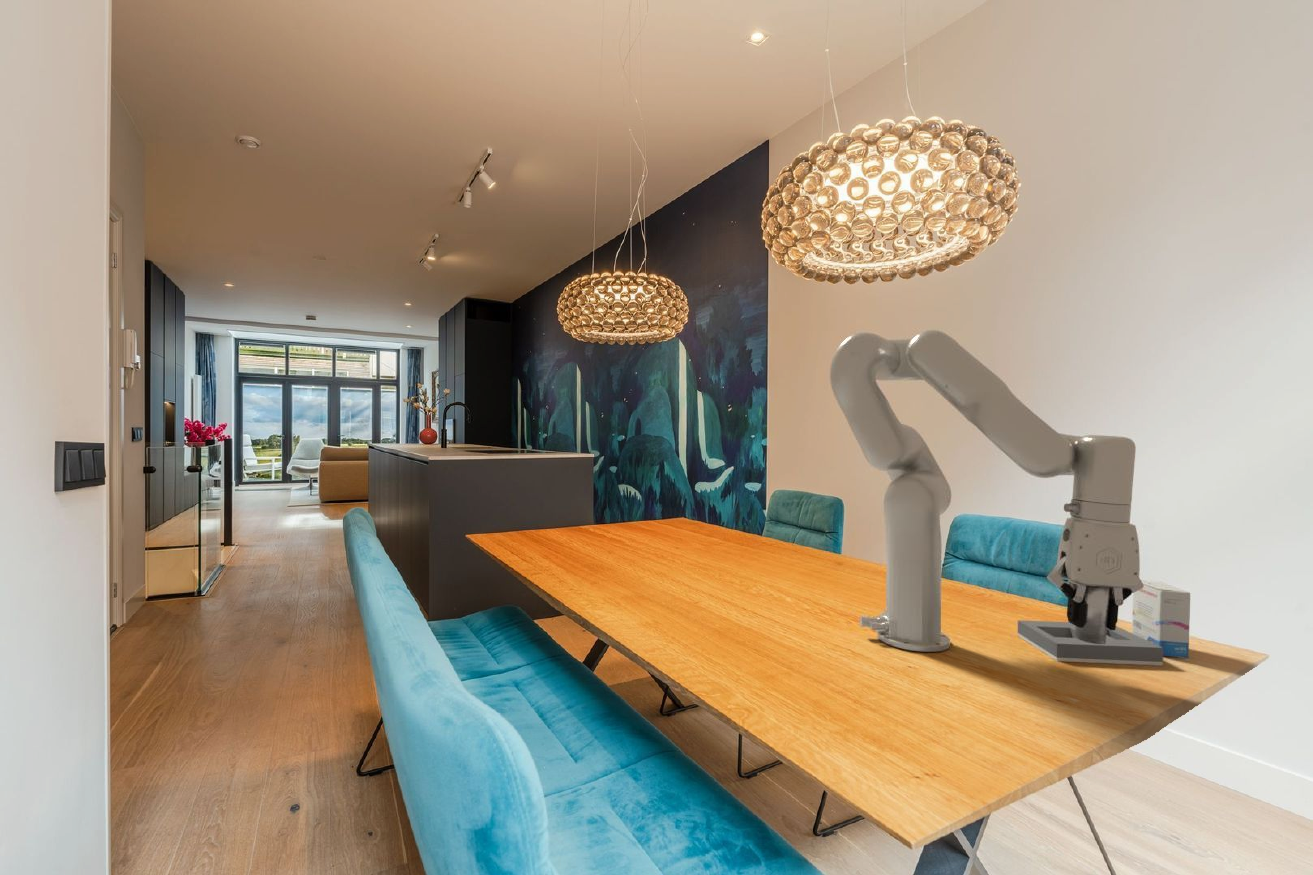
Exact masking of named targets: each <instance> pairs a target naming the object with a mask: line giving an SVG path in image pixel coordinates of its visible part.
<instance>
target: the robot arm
mask: <svg viewBox="0 0 1313 875" xmlns="http://www.w3.org/2000/svg"><path fill="white" fill-rule="evenodd" d="M829 380H830V386H831V390H832V392H833V395H834V397H835V399H836V401H837V404H838V406H839V408H840V409H841V411H842V414H843V415H844V417H845V419H846V422H847V423H848V425H849V428H850V430H851V431H852V434H853V436H854V438H855V439H856V441H857V443H858V445H859V447H860V449H861V451H862V454H863V455H864V458H865V460H866V461H867V463H869V465H870V466H871V467H873V468H874V469H876V470H879V471H883V472H886V473H887V475H888V477H889V478H890V480H891V482H890V483H889V485H888V486H887V488H886V490H885V492H884V498H883V514H884V522H885V535H886V538H885V541H886V545H885V546H886V555H885V556H886V574H885V575H886V576H885V577H886V578H885V579H886V580H885V581H886V583H885V592H886V593H885V610H883V611H882V610H881V611H880V612H881V613H880V615H876V616H875V617H874V616H873V617H871V616H865V615H864V616H863V615H862V616H861V615H860V617H859V625H860V627H861V628H864V627H865V628H869V629H870V630H871V631H873V630H874V631H876V635H877V638H878V639H879V640H880V641H881V642H882V643H884V644H887V645H889V646H892V647H895V648H898V649H901V650H902V649H903V650H905V651H906V650H907V651H911V652H912V651H914V652H922V653H925V652H926V653H927V652H928V653H933V652H935V653H936V652H941V651H945V650H947V649H949V648H950V647H951V638H950V637H949V636H948V635H946V634H945V633H943V632H942V534H941V533H942V532H941V531H942V530H941V520H940V519H941V515H943V514H944V513H945V512H946V511H947V510H948V508H949V506H950V504H951V502H952V490H951V487H950V484H949V483H948V480H947V478H946V475H944V473H943V471H942V469H941V467H940V466H939V463H938V462H937V460H936V459H935V457H934V455H933V453H932V452H931V449H930V448H929V446H928V445H927V442H926V441H925V440H924V438H923V437H922V436H921V434H920V433H919V431H917V429H915V428H913V427H911V426H910V425H908V424H905V423H901V422H900V420H899V419H898V416H896V414H895V412H894V410H893V409H892V407H891V404H890V403H889V401H888V398H887V396H885V394H884V392H883V391H882V390H881V388H880V386H879V384H878V382H877V381H924V382H925V383H927V384H928V385H929V386H930V387H932V389H934V390H935V391H936V392H937V393H939V395H941V397H943V398H944V399H945V400H946V401H947V402H948V403H949V404H950V405H951V406H953V407H954V408H955V409H956V410H957V411H958V412H959V413H960V414H961V415H962V416H963V417H964V418H965V419H966V420H967V421H968V422H969V423H971V424H972V425H974V426H975V427H976V428H977V429H978V430H979V431H980V432H981V433H982V434H983V435H984V436H985V437H986V438H987V439H988V440H989V441H991V443H993V444H994V445H995V446H996V447H997V448H998V449H999V450H1000V451H1001V452H1002V453H1004V455H1006V456H1007V457H1008V458H1009V459H1010V460H1012V461H1013V462H1014V464H1016V466H1018V467H1019V468H1021V469H1022V470H1023V471H1024V472H1026V473H1027V474H1029V475H1031V476H1034V477H1036V478H1041V479H1043V478H1044V479H1050V478H1051V479H1052V478H1054V477H1058V476H1073V484H1072V485H1073V486H1072V497H1071V498H1072V499H1071V501H1070V502H1069V503H1064V504H1063V511H1064V512H1065V513H1069V515H1070V517H1067V518H1066V520H1065V522H1064V525H1063V529H1062V533H1061V536H1060V540H1059V545H1058V546H1059V547H1058V552H1057V560H1056V565H1055V566H1054V567H1053V568H1052V569H1051V571H1050V572H1049V573H1048V575H1047V576H1046V578H1047V580H1048V581H1049V582H1050V583H1052V584H1053V585H1055V586H1056V587H1057V588H1058V589H1059V590H1060V591H1061V592H1062V593H1063V595H1064V596H1065V598H1067V606H1066V618H1067V622H1070V623H1071V624H1073V625H1075V626H1077V627H1079V628H1083V627H1084V623H1085V610H1086V604H1085V603H1083V602H1082V600H1083V596H1084V593H1085V589H1086V586H1087V585H1090V586H1102V587H1110V595H1109V607H1108V620H1107V628H1108V629H1109V630H1115V629H1116V626H1117V623H1118V620H1119V619H1118V617H1119V607H1120V606H1123V604H1124V601H1125V600H1127V599H1128V598H1129V597H1131V595H1132V594H1133V593H1134V592H1136V591H1138V590H1140V589H1142V588H1143V587H1144V585H1143V583H1142V581H1141V580H1142V579H1141V578H1140V563H1141V562H1140V544H1139V542H1140V541H1139V536H1138V532H1137V526H1136V525H1135V524H1133V523H1131V512H1132V498H1133V486H1134V473H1135V472H1134V471H1135V462H1136V444H1135V441H1133V439H1131V438H1129V437H1125V436H1116V435H1099V434H1098V435H1095V434H1094V435H1093V434H1092V435H1091V434H1090V435H1089V434H1087V435H1084V436H1080V435H1072V434H1065V433H1059V432H1058V431H1057V430H1055V429H1054V428H1052V427H1051V426H1050V425H1049V424H1047V422H1045V421H1044V420H1043V419H1042V418H1041V417H1040V416H1038V414H1036V413H1035V412H1033V410H1031V409H1030V408H1029V407H1027V406H1026V405H1025V404H1024V402H1022V401H1021V400H1020V399H1019V398H1018V397H1017V396H1015V395H1014V394H1013V392H1012V391H1011V389H1010V388H1009V387H1008V385H1007V384H1006V383H1005V381H1004V380H1002V379H1001V377H999V376H998V375H997V374H996V373H994V372H993V371H992V370H990V369H989V368H988V367H987V366H985V365H984V364H983V363H982V362H981V361H980V360H978V359H977V358H976V357H975V356H974V355H973V354H971V353H970V352H969V351H968V350H966V349H965V348H964V347H963V346H961V345H960V344H959V342H957V340H956V339H954V338H953V337H952V336H950V335H949V334H947V333H945V332H943V331H941V330H938V329H937V330H936V329H928V330H925V331H922V332H921V331H920V332H919V333H918V334H916V335H915V336H914V337H913V338H910V339H909V338H908V339H906V338H905V339H887V338H884V337H882V336H880V335H878V334H875V333H872V332H857V333H853V334H852V335H850V336H848V337H846V338H845V340H843V341H842V342H840V344H839V346H838V347H837V349H836V351H835V352H834V354H833V356H832V359H831V362H830V368H829ZM1063 578H1065V579H1067V582H1066V581H1065V580H1064V579H1063Z"/></svg>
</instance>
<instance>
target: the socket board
mask: <svg viewBox="0 0 1313 875" xmlns="http://www.w3.org/2000/svg"><path fill="white" fill-rule="evenodd" d="M1075 627H1076V626H1075V625H1073V624H1071V623H1070V622H1068V621H1048V620H1047V621H1046V620H1043V621H1042V620H1017V637H1019V638H1020V639H1022V640H1023V641H1025V642H1027V644H1030V645H1031V646H1033V647H1034V648H1036V649H1038V650H1039V651H1040V652H1042V653H1044V654H1045V655H1046V656H1048V657H1050V658H1052V659H1053V660H1055V661H1056V662H1071V663H1075V662H1076V663H1091V664H1093V663H1094V664H1095V663H1096V664H1115V665H1116V664H1118V665H1119V664H1120V665H1142V666H1143V665H1144V666H1164V656H1163V648H1162V647H1160V646H1158V645H1156V644H1154V643H1152V642H1149V641H1147V640H1145V639H1143V638H1141V637H1139V636H1136V635H1134V634H1132V632H1130V631H1128V630H1125V629H1123V628H1122V627H1119V626H1117V625H1116V629H1115V630H1109V629H1108V628H1107V632H1106V643H1105V644H1093V643H1088V642H1085V641H1082V640H1079V639H1077V638H1076V637H1075Z"/></svg>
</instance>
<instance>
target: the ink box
mask: <svg viewBox="0 0 1313 875" xmlns="http://www.w3.org/2000/svg"><path fill="white" fill-rule="evenodd" d="M1140 580H1141V581H1142V583H1143V585H1144V587H1143V588H1142V589H1140V590H1138V591H1136V592H1134V593H1132V594H1133V595H1132V619H1131V620H1132V621H1131V623H1132V624H1131V633H1132V634H1134V635H1136V636H1139V637H1141V638H1143V639H1145V640H1147V641H1149V642H1152V643H1154V644H1156V645H1158V646H1160V647H1162V648H1163V657H1173V658H1187V659H1188V658H1189V655H1190V654H1189V652H1190V651H1189V650H1190V649H1189V647H1190V619H1191V618H1190V614H1191V592H1190V591H1187V590H1184V589H1181V588H1178V587H1176V586H1173V585H1170V584H1167V583H1164V582H1163V581H1153V580H1142V579H1140Z"/></svg>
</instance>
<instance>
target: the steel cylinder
mask: <svg viewBox="0 0 1313 875" xmlns="http://www.w3.org/2000/svg"><path fill="white" fill-rule="evenodd" d="M1109 595H1110V587H1102V586H1090V585H1087V586H1086V589H1085V593H1084V596H1083V600H1082V602H1083V603H1085V604H1086V610H1085V623H1084V627H1083V628H1079V627H1077V626H1076V627H1075V637H1076V638H1077V639H1079V640H1082V641H1085V642H1088V643H1093V644H1105V643H1106V632H1107V620H1108V607H1109Z"/></svg>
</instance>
